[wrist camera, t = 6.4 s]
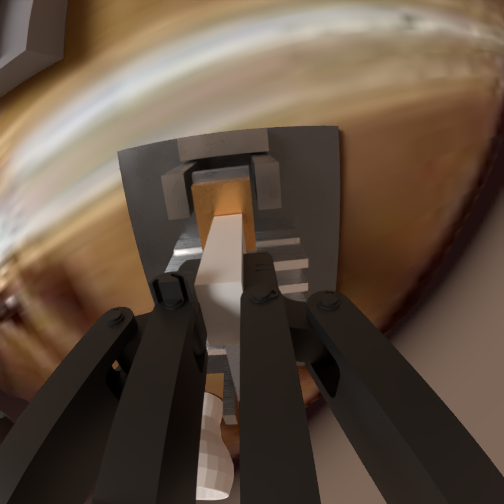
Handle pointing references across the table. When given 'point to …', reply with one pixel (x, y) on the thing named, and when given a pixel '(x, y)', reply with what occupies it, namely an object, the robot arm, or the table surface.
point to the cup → (213, 454)
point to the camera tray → (29, 38)
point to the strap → (220, 204)
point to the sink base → (263, 202)
